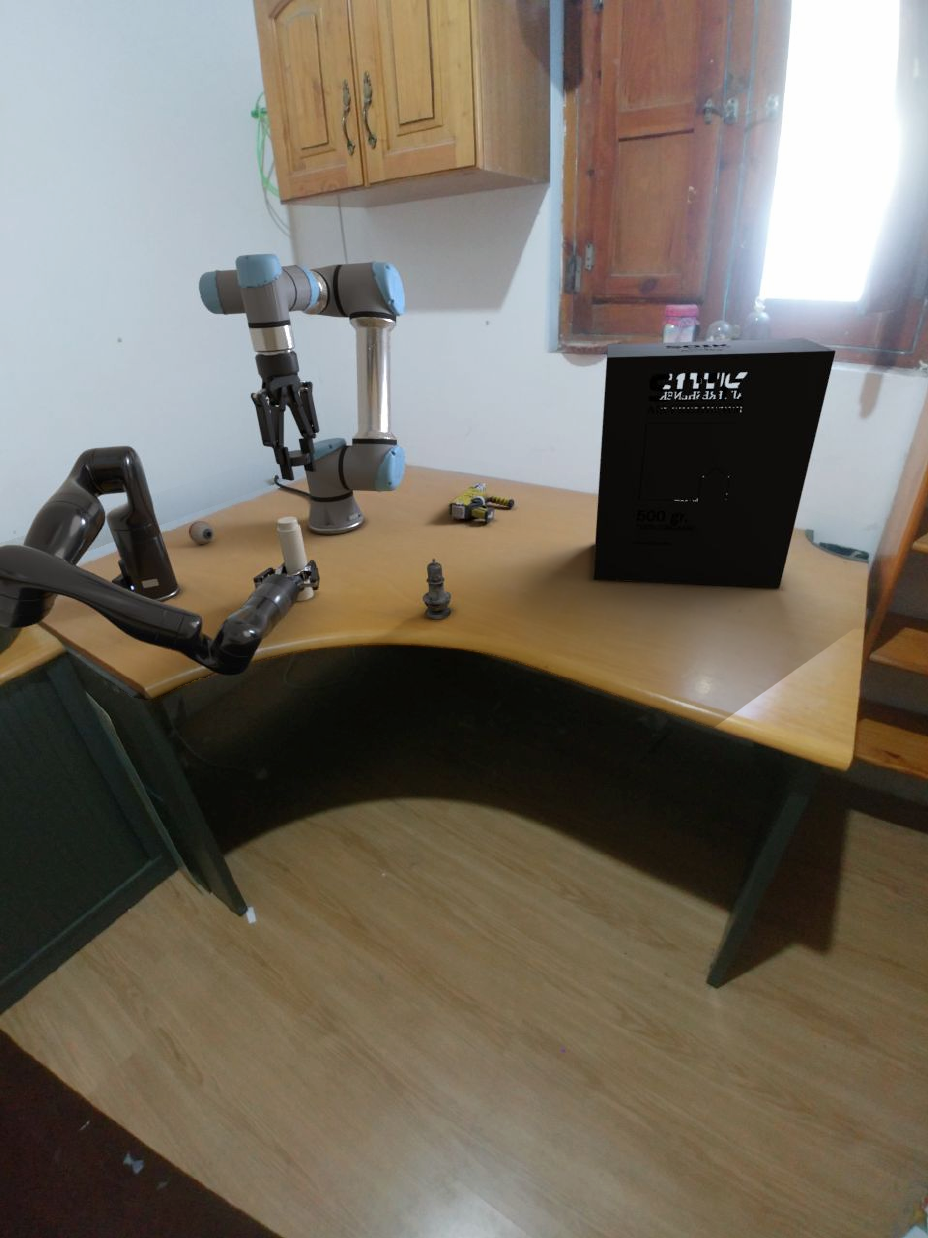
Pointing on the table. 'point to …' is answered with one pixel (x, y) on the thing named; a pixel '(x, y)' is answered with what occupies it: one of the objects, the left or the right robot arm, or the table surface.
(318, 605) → the table surface
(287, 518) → the jar
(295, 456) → the lid
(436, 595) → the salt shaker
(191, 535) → the eyeball
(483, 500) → the toy gun
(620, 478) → the cardboard box
